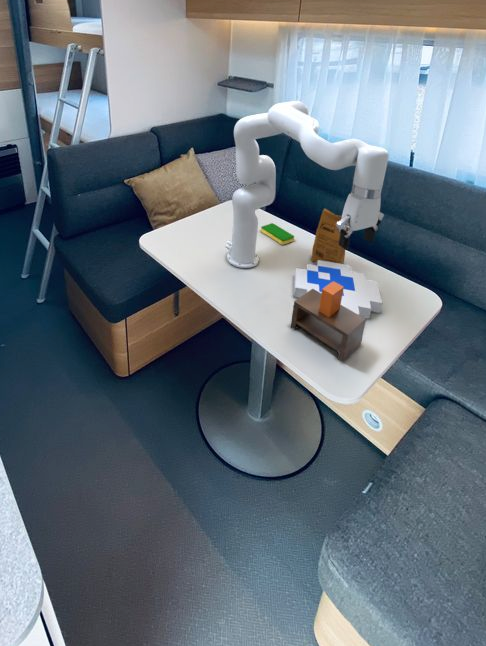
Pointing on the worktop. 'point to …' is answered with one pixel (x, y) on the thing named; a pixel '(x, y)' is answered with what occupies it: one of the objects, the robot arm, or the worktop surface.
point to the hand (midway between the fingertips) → (355, 243)
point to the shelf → (329, 324)
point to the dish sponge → (277, 233)
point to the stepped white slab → (356, 290)
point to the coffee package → (328, 240)
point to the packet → (331, 298)
